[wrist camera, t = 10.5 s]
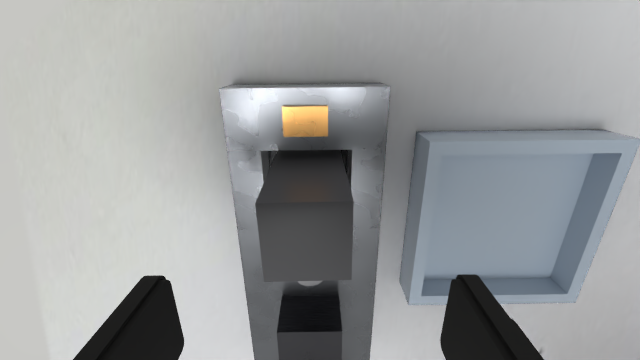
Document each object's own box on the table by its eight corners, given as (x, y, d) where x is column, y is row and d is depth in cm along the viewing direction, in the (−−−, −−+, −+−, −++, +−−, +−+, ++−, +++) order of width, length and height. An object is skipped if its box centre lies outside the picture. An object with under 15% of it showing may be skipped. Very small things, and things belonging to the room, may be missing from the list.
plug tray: (602, 129, 19) (641, 139, 17) (550, 278, 24) (575, 302, 21) (416, 131, 19) (430, 141, 17) (399, 281, 24) (408, 305, 21)
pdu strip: (380, 83, 18) (406, 92, 13) (364, 344, 26) (375, 413, 21) (231, 84, 18) (197, 95, 13) (261, 346, 26) (248, 415, 21)
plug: (339, 147, 20) (353, 201, 12) (339, 224, 22) (350, 310, 14) (278, 148, 20) (255, 203, 12) (284, 225, 22) (267, 311, 14)
